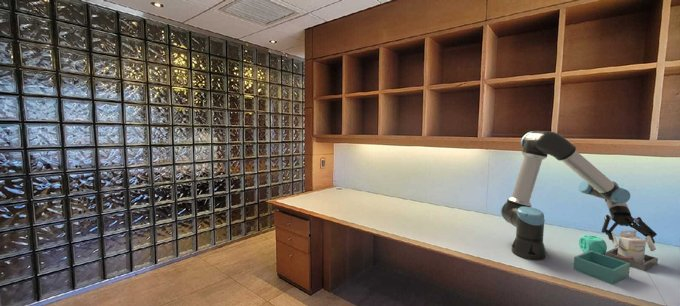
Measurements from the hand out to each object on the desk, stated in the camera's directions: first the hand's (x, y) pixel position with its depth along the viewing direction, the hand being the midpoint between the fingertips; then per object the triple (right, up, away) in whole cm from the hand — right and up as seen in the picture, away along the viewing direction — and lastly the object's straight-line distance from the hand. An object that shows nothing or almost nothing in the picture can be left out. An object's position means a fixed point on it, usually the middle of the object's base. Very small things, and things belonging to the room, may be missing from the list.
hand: (634, 248), depth 132 cm
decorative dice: (-9, -7, +12) cm, 17 cm away
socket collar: (+1, -7, +3) cm, 8 cm away
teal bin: (-23, -9, -7) cm, 26 cm away
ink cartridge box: (+1, -7, +3) cm, 8 cm away
